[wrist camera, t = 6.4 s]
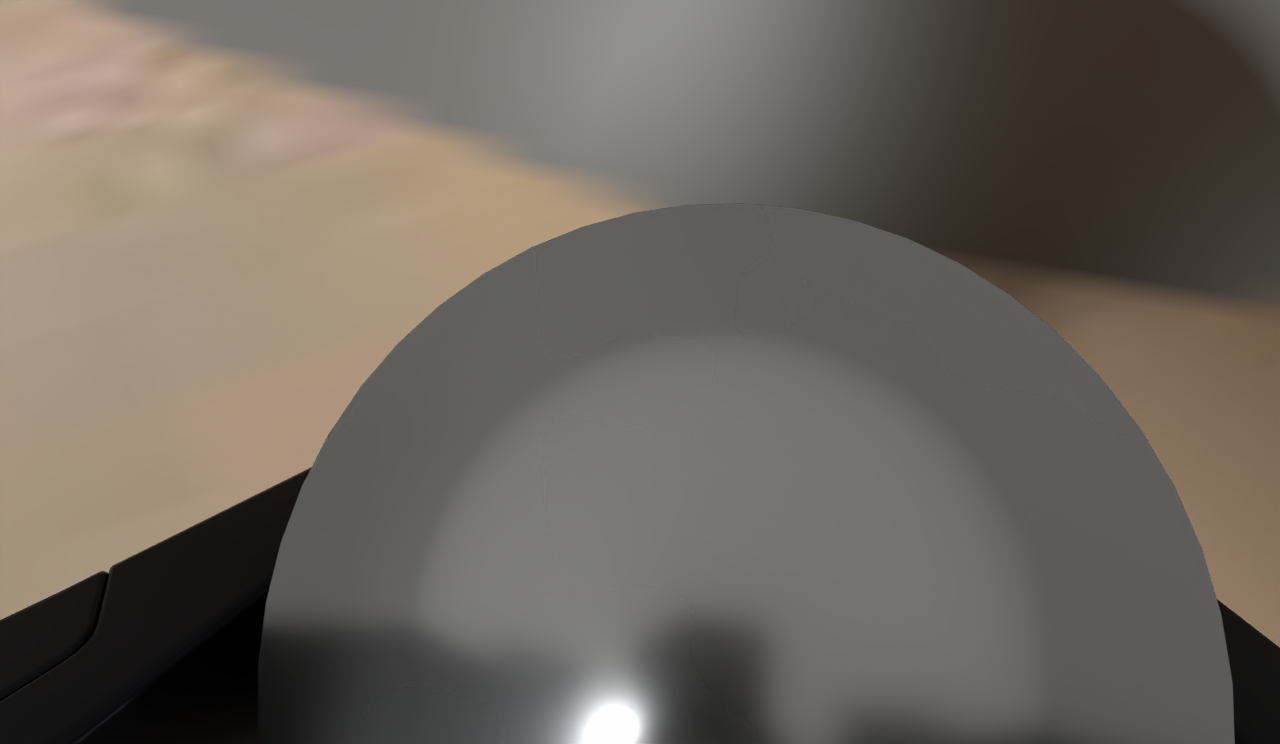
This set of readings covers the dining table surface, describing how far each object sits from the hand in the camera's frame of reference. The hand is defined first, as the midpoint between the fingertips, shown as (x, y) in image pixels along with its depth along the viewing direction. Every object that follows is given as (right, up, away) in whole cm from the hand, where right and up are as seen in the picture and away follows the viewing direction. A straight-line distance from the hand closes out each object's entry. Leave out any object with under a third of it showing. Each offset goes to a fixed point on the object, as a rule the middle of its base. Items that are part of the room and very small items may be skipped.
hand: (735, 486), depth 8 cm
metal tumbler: (0, -3, +6) cm, 7 cm away
